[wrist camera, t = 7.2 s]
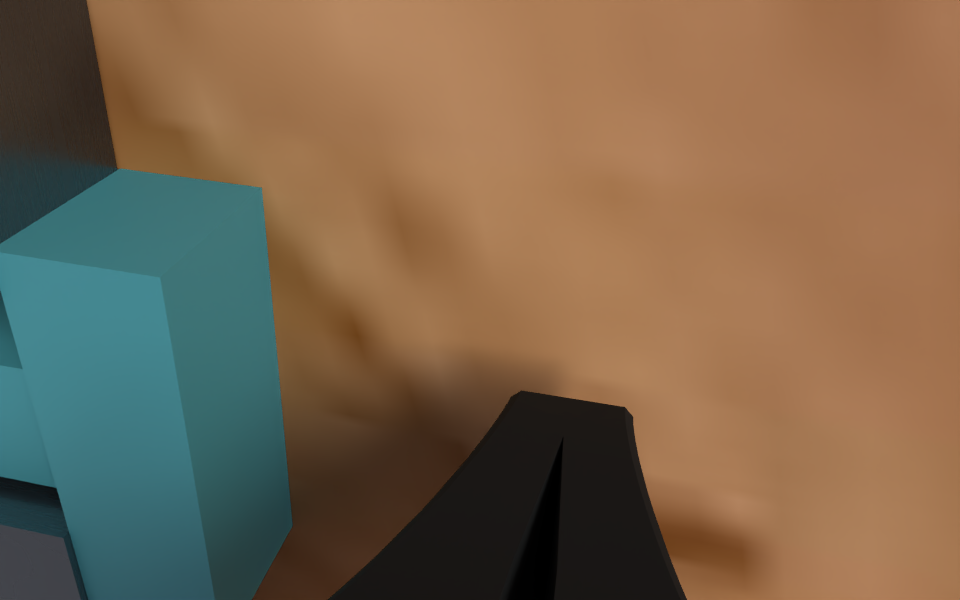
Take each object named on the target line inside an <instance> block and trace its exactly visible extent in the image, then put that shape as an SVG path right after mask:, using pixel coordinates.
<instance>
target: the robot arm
mask: <svg viewBox="0 0 960 600" xmlns="http://www.w3.org/2000/svg"><path fill="white" fill-rule="evenodd" d="M328 600H687V599H686V596H685V594H684V592H683V589H682V587H681V585H680V582H679V580H678V577H677V575H676V572H675V570H674V567H673V564H672V562H671V559H670V557H669V554H668V551H667V548H666V545H665V543H664V540H663V537H662V534H661V531H660V528H659V525H658V523H657V520H656V517H655V514H654V511H653V508H652V505H651V501H650V498H649V495H648V492H647V488H646V484H645V481H644V477H643V473H642V469H641V465H640V461H639V457H638V452H637V447H636V442H635V435H634V427H633V416H632V415H631V414H630V413H629V412H628V410H627V409H626V408H625V407H620V406H614V405H608V404H601V403H595V402H589V401H583V400H577V399H570V398H564V397H558V396H552V395H546V394H539V393H533V392H527V391H520V392H518V393H517V394H515V395H513V396H512V397H511V398H510V400H509V401H508V403H507V405H506V406H505V408H504V410H503V411H502V413H501V414H500V416H499V417H498V418H497V420H496V421H495V423H494V424H493V426H492V427H491V428H490V430H489V431H488V432H487V434H486V435H485V436H484V438H483V439H482V440H481V442H480V443H479V444H478V445H477V447H476V448H475V449H474V451H473V452H472V453H471V454H470V456H469V457H468V458H467V459H466V461H465V462H464V463H463V464H462V465H461V466H460V468H459V469H458V470H457V471H456V472H455V473H454V474H453V476H452V477H451V478H450V479H449V480H448V481H447V483H446V484H445V485H444V486H443V487H442V488H441V489H440V491H439V492H438V493H437V494H436V495H435V496H434V498H433V499H432V500H431V501H430V502H429V503H428V504H427V505H426V506H425V507H424V508H423V510H422V511H421V512H420V513H419V514H418V515H417V516H416V517H415V518H414V519H413V520H412V521H411V522H410V523H409V524H408V525H407V526H406V527H405V528H404V529H403V530H402V531H401V532H400V533H399V534H398V535H397V536H396V537H395V538H394V539H393V540H392V541H391V542H390V543H389V544H388V545H387V546H386V547H385V548H384V549H383V550H382V551H381V552H380V553H379V554H378V555H377V556H376V557H375V558H374V559H373V560H371V561H370V562H369V563H368V564H367V565H366V566H365V567H364V568H363V569H362V570H361V571H360V572H358V573H357V574H356V575H355V576H354V577H353V578H352V579H351V580H350V581H348V582H347V583H346V584H345V585H344V586H343V587H342V588H341V589H339V590H338V591H337V592H336V593H335V594H333V595H332V596H331V597H330V598H329V599H328Z"/></svg>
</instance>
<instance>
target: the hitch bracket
mask: <svg viewBox="0 0 960 600" xmlns="http://www.w3.org/2000/svg"><path fill="white" fill-rule="evenodd" d="M115 171H117V166H116V160H115V155H114V149H113V144H112V138H111V133H110V128H109V122H108V117H107V111H106V106H105V100H104V95H103V90H102V84H101V79H100V73H99V68H98V62H97V57H96V51H95V46H94V41H93V35H92V30H91V24H90V19H89V13H88V8H87V3H86V0H0V244H1V243H2V242H4V241H5V240H7V239H9V238H10V237H12V236H13V235H15V234H17V233H18V232H20V231H21V230H23V229H24V228H26V227H28V226H29V225H31V224H32V223H34V222H36V221H37V220H39V219H40V218H42V217H44V216H45V215H47V214H48V213H50V212H52V211H53V210H55V209H56V208H58V207H59V206H61V205H63V204H64V203H66V202H67V201H69V200H71V199H72V198H74V197H75V196H77V195H79V194H80V193H82V192H83V191H85V190H86V189H88V188H90V187H91V186H93V185H94V184H96V183H98V182H99V181H101V180H102V179H104V178H106V177H107V176H109V175H110V174H112V173H114V172H115ZM2 299H3V298H2V294H1V291H0V301H1V300H2ZM0 600H88V597H87V593H86V590H85V586H84V583H83V579H82V576H81V572H80V569H79V565H78V562H77V558H76V555H75V551H74V548H73V544H72V541H71V537H70V534H69V530H68V527H67V523H66V520H65V516H64V513H63V509H62V506H61V502H60V498H59V495H58V491H57V488H54V487H50V486H45V485H40V484H35V483H30V482H25V481H20V480H15V479H10V478H5V477H0Z"/></svg>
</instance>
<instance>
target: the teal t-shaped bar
mask: <svg viewBox="0 0 960 600" xmlns="http://www.w3.org/2000/svg"><path fill="white" fill-rule="evenodd" d="M0 291H1V294H2V298H3V299H2V300H1V301H0V477H5V478H10V479H15V480H20V481H25V482H30V483H35V484H40V485H45V486H50V487H54V488H57V491H58V495H59V498H60V502H61V506H62V509H63V513H64V516H65V520H66V523H67V527H68V530H69V534H70V537H71V541H72V544H73V548H74V551H75V555H76V558H77V562H78V565H79V569H80V572H81V576H82V579H83V583H84V586H85V590H86V593H87V597H88V600H252V598H253V597H254V595H255V593H256V591H257V589H258V588H259V586H260V584H261V582H262V580H263V579H264V577H265V575H266V573H267V571H268V570H269V568H270V566H271V564H272V562H273V561H274V559H275V557H276V555H277V553H278V552H279V550H280V548H281V546H282V544H283V542H284V541H285V539H286V537H287V535H288V533H289V532H290V530H291V528H292V526H293V523H292V513H291V502H290V491H289V480H288V469H287V458H286V447H285V436H284V425H283V414H282V404H281V393H280V382H279V371H278V360H277V349H276V338H275V327H274V316H273V306H272V295H271V284H270V273H269V262H268V251H267V240H266V229H265V218H264V207H263V197H262V188H260V187H252V186H245V185H238V184H230V183H223V182H215V181H208V180H201V179H193V178H186V177H178V176H171V175H164V174H156V173H149V172H141V171H134V170H127V169H118V170H117V171H115V172H114V173H112V174H110V175H109V176H107V177H106V178H104V179H102V180H101V181H99V182H98V183H96V184H94V185H93V186H91V187H90V188H88V189H86V190H85V191H83V192H82V193H80V194H79V195H77V196H75V197H74V198H72V199H71V200H69V201H67V202H66V203H64V204H63V205H61V206H59V207H58V208H56V209H55V210H53V211H52V212H50V213H48V214H47V215H45V216H44V217H42V218H40V219H39V220H37V221H36V222H34V223H32V224H31V225H29V226H28V227H26V228H24V229H23V230H21V231H20V232H18V233H17V234H15V235H13V236H12V237H10V238H9V239H7V240H5V241H4V242H2V243H1V244H0Z"/></svg>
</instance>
